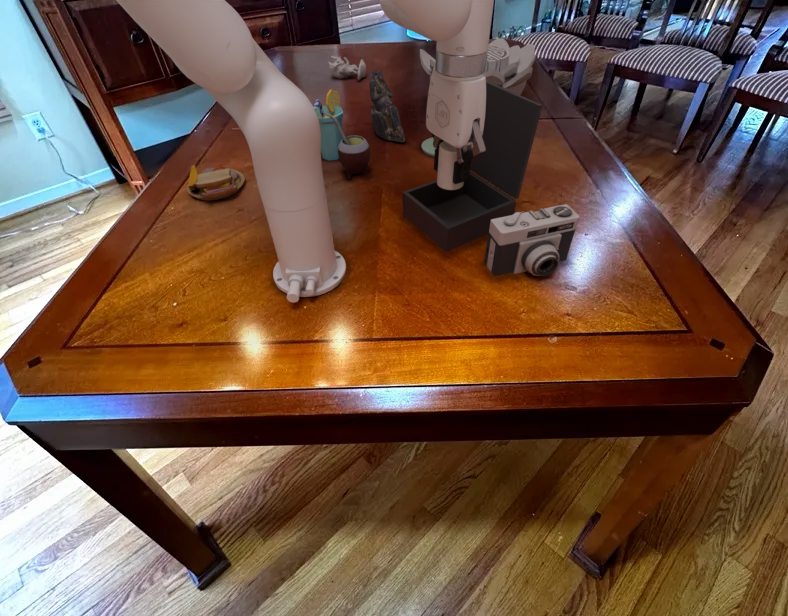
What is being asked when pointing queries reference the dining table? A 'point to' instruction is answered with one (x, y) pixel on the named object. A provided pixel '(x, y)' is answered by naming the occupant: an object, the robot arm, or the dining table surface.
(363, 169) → the mate gourd
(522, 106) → the box lid
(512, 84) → the decorative bowl
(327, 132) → the cup
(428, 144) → the saucer
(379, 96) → the statue
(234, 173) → the toy sandwich meal
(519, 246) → the camera
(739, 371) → the dining table surface
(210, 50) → the robot arm
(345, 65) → the figurine
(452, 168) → the white cylinder
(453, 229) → the hinged lid box
